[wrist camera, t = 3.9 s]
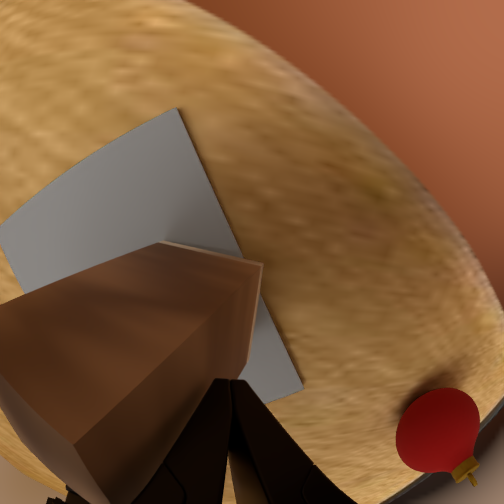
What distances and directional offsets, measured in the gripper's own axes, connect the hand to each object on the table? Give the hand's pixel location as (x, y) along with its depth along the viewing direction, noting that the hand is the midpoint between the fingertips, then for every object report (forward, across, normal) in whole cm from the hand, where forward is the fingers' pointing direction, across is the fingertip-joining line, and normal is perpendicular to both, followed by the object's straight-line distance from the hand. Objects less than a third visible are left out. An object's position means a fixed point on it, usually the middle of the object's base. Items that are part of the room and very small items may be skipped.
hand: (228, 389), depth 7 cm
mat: (+6, +4, +2) cm, 8 cm away
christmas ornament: (+7, -17, +10) cm, 20 cm away
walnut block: (+5, +1, 0) cm, 5 cm away
